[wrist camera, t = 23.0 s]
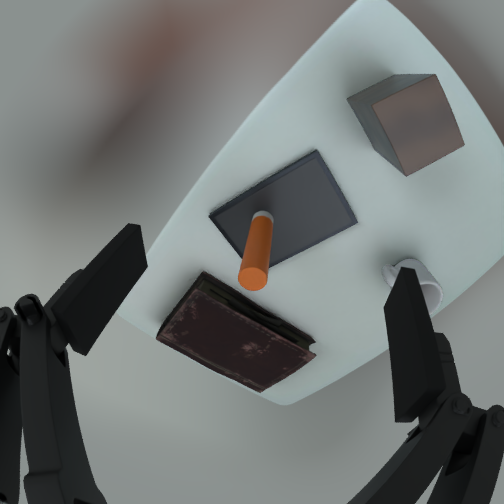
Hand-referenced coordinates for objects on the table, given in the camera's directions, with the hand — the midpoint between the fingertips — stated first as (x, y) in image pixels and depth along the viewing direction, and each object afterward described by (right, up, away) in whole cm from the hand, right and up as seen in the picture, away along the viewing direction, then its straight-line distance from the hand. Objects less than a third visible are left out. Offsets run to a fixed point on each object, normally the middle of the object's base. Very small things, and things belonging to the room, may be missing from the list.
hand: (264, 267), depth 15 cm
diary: (-3, -15, +42) cm, 45 cm away
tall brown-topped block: (+17, +19, +19) cm, 32 cm away
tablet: (+4, +6, +29) cm, 30 cm away
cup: (+24, -2, +31) cm, 39 cm away
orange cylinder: (+1, +5, +28) cm, 29 cm away
